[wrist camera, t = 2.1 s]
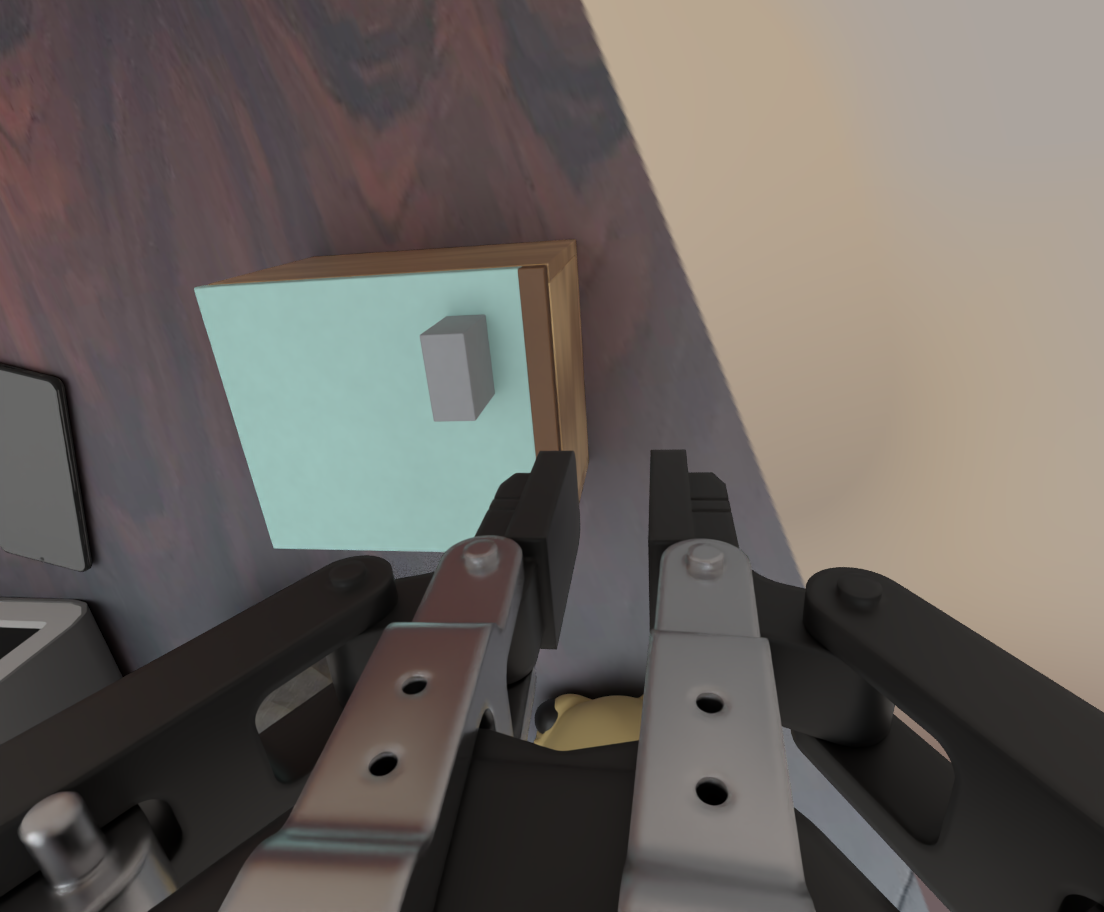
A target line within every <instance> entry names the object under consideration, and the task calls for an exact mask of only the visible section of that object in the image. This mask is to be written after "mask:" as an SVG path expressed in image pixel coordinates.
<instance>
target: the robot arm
mask: <svg viewBox="0 0 1104 912" xmlns="http://www.w3.org/2000/svg"><path fill="white" fill-rule="evenodd" d="M579 538H580V511H579V496H578V482H577V467H576V457H575V452H574V451H539V453H538V456H537V458H536V460H535V463H534V465H533V468H532V470H531V472H530V473H515V474H513V475H512V476H511V477H509V478H508V479H507V480H505V481H504V482H503V483H501V484H500V486H499V488H498V490H497V492H496V494H495V496H494V499H493V500H492V502H491V504H490V506H489V510H487V512H486V514H485V516H484V518H483V520H482V522H481V524H480V526H479V528H478V530H477V532H476V534H475V536H474V537H472V538H468V539H465V540H463V541H460V542H458V543H456V544H455V545H453V546H451V547H450V548H449V549H448V550H447V551H446V552H445V553H444V554H443V556H442V557H441V559H440V561H439V564H438V566H437V568H436V570H435V571H434V572H431V573H427V574H422V575H416V576H410V577H405V578H399V579H394V575H393V570H392V567H391V565H390V563H389V562H388V561H386V560H385V559H383V558H380V557H376V556H368V555H366V556H354V557H349V558H345V559H341V560H338V561H336V562H333V563H331V564H329V565H327V566H325V567H323V568H321V569H320V570H318V571H316V572H314V573H312V574H310V575H309V576H307V577H305V578H303V579H301V580H299V581H298V582H296V583H294V584H292V585H290V586H289V587H287V588H285V589H283V590H281V591H279V592H278V593H276V594H274V595H272V596H270V597H269V598H267V599H265V600H263V601H261V602H259V603H258V604H256V605H254V606H252V607H250V608H248V609H247V610H245V611H243V612H241V613H239V614H238V615H236V616H234V617H232V618H230V619H228V620H227V621H225V622H223V623H221V624H219V625H218V626H216V627H214V628H212V629H210V630H208V631H207V632H205V633H203V634H201V635H199V636H198V637H196V638H194V639H192V640H190V641H188V642H187V643H185V644H183V645H181V646H179V647H177V648H176V649H174V650H172V651H170V652H168V653H167V654H165V655H163V656H161V657H159V658H157V659H156V660H154V661H152V662H150V663H148V664H147V665H145V666H143V667H141V668H139V669H137V670H136V671H134V672H132V673H130V674H128V675H126V676H125V677H123V678H121V679H119V680H117V681H116V682H114V683H112V684H110V685H108V686H106V687H105V688H103V689H101V690H99V691H97V692H96V693H94V694H92V695H90V696H88V697H86V698H85V699H83V700H81V701H79V702H77V703H75V704H74V705H72V706H70V707H68V708H66V709H65V710H63V711H61V712H59V713H57V714H55V715H54V716H52V717H50V718H48V719H46V720H45V721H43V722H41V723H39V724H37V725H35V726H34V727H32V728H30V729H28V730H26V731H24V732H23V733H21V734H19V735H17V736H15V737H14V738H12V739H10V740H8V741H6V742H4V743H3V744H1V745H0V912H900V911H899V910H898V909H897V908H896V907H895V906H894V905H893V904H892V903H891V902H890V901H889V900H888V899H887V898H886V897H885V896H884V895H883V894H882V893H881V892H880V891H879V890H878V889H877V888H876V887H875V886H874V885H873V884H872V883H871V882H870V881H869V879H868V878H867V877H866V876H865V875H864V874H863V873H862V872H861V871H860V870H859V869H858V868H857V867H856V866H855V865H854V864H853V863H852V862H851V861H850V860H849V859H848V858H847V857H846V856H845V855H844V854H843V853H842V852H841V851H840V850H839V849H838V848H837V847H836V846H835V845H834V844H833V843H832V842H831V841H830V840H829V838H828V837H827V836H826V835H825V834H824V833H823V832H822V831H821V830H820V829H819V828H817V827H816V826H815V825H814V824H813V823H812V822H811V821H810V820H809V819H808V818H806V817H805V816H804V815H803V814H802V813H800V812H799V811H798V810H797V809H795V808H794V806H793V799H792V792H791V786H790V779H789V772H788V765H787V759H786V752H785V745H784V739H783V732H782V726H783V727H786V728H789V729H791V734H792V737H793V740H794V742H795V744H796V745H797V747H798V748H799V749H800V751H801V752H802V753H803V754H804V755H805V756H806V757H807V758H808V759H809V760H810V762H811V763H812V764H813V765H814V766H815V767H816V768H817V769H818V770H819V771H820V772H821V773H822V774H823V775H824V777H825V778H826V779H827V780H828V781H829V782H830V783H831V784H832V785H833V786H834V787H835V788H836V789H837V790H838V792H839V793H840V794H841V795H842V796H843V797H844V798H845V799H846V800H847V801H848V802H849V803H850V804H851V805H852V807H853V808H854V809H855V810H856V811H857V812H858V813H859V814H860V815H861V816H862V817H863V818H864V819H865V820H866V822H867V823H868V824H869V825H870V826H871V827H872V828H873V829H874V830H875V831H876V832H877V833H878V834H879V835H880V837H881V838H882V839H883V840H884V841H885V842H886V843H887V844H888V845H889V846H890V847H891V848H892V849H893V850H894V852H895V853H896V854H897V855H898V856H899V857H900V858H901V859H902V860H903V861H904V862H905V863H906V864H907V865H908V867H909V868H910V869H911V870H912V871H913V872H914V873H915V874H916V875H917V876H918V877H919V878H920V879H921V880H922V881H923V883H924V884H925V885H926V886H927V887H928V888H929V889H930V890H931V891H932V892H933V893H934V894H935V895H936V897H937V898H938V899H939V900H940V901H941V902H942V903H943V904H944V905H945V906H946V907H947V908H948V909H949V910H950V911H951V912H1104V713H1103V712H1102V711H1100V710H1099V709H1097V708H1096V707H1094V706H1092V705H1091V704H1089V703H1088V702H1086V701H1084V700H1082V699H1081V698H1080V697H1078V696H1076V695H1075V694H1073V693H1072V692H1070V691H1068V690H1067V689H1065V688H1064V687H1062V686H1060V685H1059V684H1057V683H1056V682H1054V681H1053V680H1051V679H1049V678H1048V677H1046V676H1045V675H1043V674H1041V673H1040V672H1038V671H1037V670H1035V669H1033V668H1032V667H1030V666H1029V665H1027V664H1025V663H1024V662H1022V661H1020V660H1019V659H1017V658H1016V657H1014V656H1013V655H1011V654H1009V653H1008V652H1006V651H1005V650H1003V649H1002V648H1000V647H998V646H996V645H995V644H994V643H992V642H990V641H989V640H987V639H986V638H984V637H982V636H981V635H979V634H978V633H976V632H974V631H973V630H971V629H970V628H968V627H967V626H965V625H963V624H962V623H960V622H959V621H957V620H955V619H954V618H952V617H950V616H949V615H947V614H946V613H944V612H943V611H941V610H939V609H938V608H936V607H935V606H933V605H931V604H930V603H928V602H927V601H925V600H923V599H922V598H920V597H918V596H917V595H916V594H914V593H912V592H911V591H909V590H908V589H906V588H904V587H903V586H901V585H900V584H898V583H896V582H895V581H893V580H891V579H889V578H887V577H885V576H883V575H881V574H878V573H875V572H872V571H868V570H864V569H858V568H849V567H848V568H847V567H836V568H829V569H825V570H822V571H820V572H817V573H815V574H814V575H813V576H812V577H811V578H810V579H809V580H808V582H807V584H806V589H804V588H800V587H795V586H791V585H786V584H782V583H779V582H775V581H773V580H770V579H767V578H765V577H763V576H761V575H759V574H758V573H756V572H754V571H753V570H752V569H751V563H750V560H749V558H748V557H747V555H746V554H745V553H744V552H743V551H741V550H740V549H739V545H738V541H737V536H736V531H735V527H734V522H733V517H732V513H731V508H730V503H729V501H728V494H727V489H726V484H725V483H723V482H722V481H721V480H720V479H719V478H718V477H717V476H716V475H715V474H713V473H688V467H687V456H686V450H651V457H650V496H649V535H648V547H649V608H650V637H649V647H648V656H647V666H646V676H645V686H644V696H643V705H642V715H641V725H640V735H639V740H636V741H630V742H623V743H616V744H609V745H603V746H596V747H589V748H582V749H575V750H568V751H558V750H554V749H550V748H547V747H544V746H541V745H537V744H534V743H531V742H528V741H527V737H528V731H529V725H530V719H531V712H532V706H533V700H534V694H535V688H536V678H537V677H536V669H535V664H536V661H537V658H538V654H539V650H540V649H557V646H558V641H559V636H560V631H561V627H562V622H563V617H564V612H565V608H566V603H567V598H568V593H569V588H570V584H571V579H572V574H573V569H574V565H575V560H576V555H577V550H578V546H579ZM324 657H326V660H327V664H328V667H329V671H330V674H331V677H332V681H333V682H332V683H331V684H329V685H328V686H326V687H325V688H324V689H322V690H321V691H319V692H318V693H316V694H315V695H314V696H312V697H311V698H309V699H308V700H306V701H305V702H304V703H302V704H301V705H299V706H298V707H296V708H295V709H294V710H292V711H291V712H289V713H288V714H286V715H285V716H284V717H282V718H281V719H279V720H278V721H276V722H275V723H274V724H272V725H271V726H269V727H268V728H266V729H265V730H264V731H262V732H261V733H258V730H257V728H256V724H255V718H256V714H257V711H258V709H259V707H260V705H261V703H262V702H263V701H264V699H265V698H266V697H267V696H268V695H269V694H270V693H272V692H273V691H275V690H276V689H278V688H279V687H281V686H282V685H284V684H285V683H287V682H288V681H290V680H291V679H293V678H294V677H296V676H297V675H299V674H300V673H302V672H303V671H305V670H306V669H308V668H309V667H311V666H312V665H314V664H315V663H317V662H318V661H320V660H321V659H323V658H324ZM895 705H896V706H897V707H898V708H899V709H901V710H902V711H903V712H904V713H905V714H907V715H908V716H909V717H910V718H911V719H913V720H914V721H915V722H916V723H917V724H919V725H920V726H921V727H922V728H923V729H925V730H926V731H927V732H928V733H929V734H931V735H932V736H933V737H934V738H935V739H936V740H937V741H938V742H939V743H940V744H941V746H942V747H943V748H944V750H945V751H946V753H947V755H948V756H949V758H950V760H951V762H949V761H948V760H947V759H946V758H945V757H944V756H942V755H941V754H940V753H939V752H938V751H936V750H935V749H934V748H933V747H932V746H931V745H929V744H928V743H927V742H926V741H925V740H923V739H922V738H921V737H920V736H919V735H918V734H916V733H915V732H914V731H913V730H912V729H911V728H909V727H908V726H907V725H906V724H905V723H903V722H902V721H901V720H900V719H899V718H897V717H896V716H895V715H894V714H893V712H894V707H895Z"/></svg>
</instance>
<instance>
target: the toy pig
mask: <svg viewBox="0 0 1104 912" xmlns="http://www.w3.org/2000/svg"><path fill="white" fill-rule="evenodd" d="M643 696H644V694H643V695H642V696H641V697H639V698H634V697H629V696H619V695H616V696H606V697H601V698H597V699H594V700H591V699H589V698H586V697H584V696H581V695H577V694H564V695H561V696H559V697H557V698H556V699H550V700H547V701H545V702H543V703H542V704H541V705H540V706H539V707H538V709H537V710H536V713H535V725H536V728H537V735H536V739H535V740H534V744H537V745H541V746H544V747H547V748H550V749H554V750H558V751H568V750H575V749H582V748H589V747H596V746H603V745H609V744H616V743H623V742H630V741H636V740H639V735H640V725H641V715H642V705H643Z"/></svg>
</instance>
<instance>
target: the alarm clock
mask: <svg viewBox="0 0 1104 912" xmlns="http://www.w3.org/2000/svg"><path fill="white" fill-rule="evenodd" d="M121 678H123V677H122V675H121V673H120V671H119V669H118V667H117V665H116V662H115V660H114V658H113V656H112V654H111V652H110V650H109V648H108V646H107V644H106V642H105V640H104V638H103V636H102V634H101V632H100V630H99V628H98V626H97V624H96V621H95V619H94V617H93V615H92V613H91V611H90V609H89V607H88V605H87V603H85V602H82V601H79V600H75V599H45V598H8V597H0V745H1V744H3V743H4V742H6V741H8V740H10V739H12V738H14V737H15V736H17V735H19V734H21V733H23V732H24V731H26V730H28V729H30V728H32V727H34V726H35V725H37V724H39V723H41V722H43V721H45V720H46V719H48V718H50V717H52V716H54V715H55V714H57V713H59V712H61V711H63V710H65V709H66V708H68V707H70V706H72V705H74V704H75V703H77V702H79V701H81V700H83V699H85V698H86V697H88V696H90V695H92V694H94V693H96V692H97V691H99V690H101V689H103V688H105V687H106V686H108V685H110V684H112V683H114V682H116V681H117V680H119V679H121Z"/></svg>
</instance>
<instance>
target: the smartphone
mask: <svg viewBox="0 0 1104 912" xmlns="http://www.w3.org/2000/svg"><path fill="white" fill-rule="evenodd" d="M0 546H1V548H2V549H3V550H4V551H5V552H7V553H11V554H15V555H19V556H23V557H26V558H30V559H34V560H38V561H41V562H45V563H49V564H53V565H57V566H60V567H64V568H68V569H72V570H75V571H79V572H84V571H86V570H88V569H90V568H91V566H92V559H91V553H90V547H89V540H88V534H87V528H86V521H85V515H84V509H83V502H82V496H81V490H80V483H79V477H78V471H77V464H76V458H75V452H74V445H73V439H72V432H71V426H70V420H69V413H68V407H67V401H66V394H65V388H64V384H63V383H62V381H61V380H59V379H58V378H56V377H53V376H49V375H45V374H41V373H37V372H33V371H29V370H25V369H21V368H17V367H12V366H8V365H4V364H0Z"/></svg>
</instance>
